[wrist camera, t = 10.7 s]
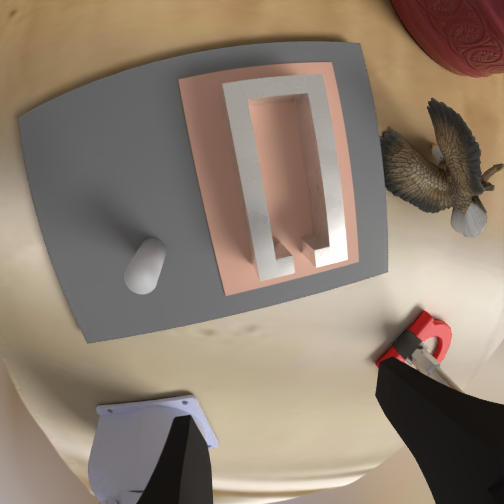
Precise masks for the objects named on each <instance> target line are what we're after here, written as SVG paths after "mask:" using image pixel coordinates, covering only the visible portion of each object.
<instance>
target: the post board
mask: <svg viewBox="0 0 504 504" xmlns="http://www.w3.org/2000/svg"><path fill="white" fill-rule="evenodd" d="M307 74H323V79H324V83H325V88H326V93H327V98H328V103H329V109H330V114H331V120H332V125H333V131H334V138H335V144H336V151H337V158H338V165H339V172H340V180H341V189H342V198H343V207H344V218H345V229H346V242H347V257H348V260H344V261H340V262H336V263H333V264H329V265H325V266H321V267H317V268H316V267H315V266H314V265H313V264H312V263H311V262H310V261H309V260H308V259H307V258H306V257H305V256H304V255H303V254H302V252H301V245H300V237H304V236H308V235H312V234H313V226H312V218H311V210H310V203H309V196H308V189H307V182H306V175H305V168H304V162H303V156H302V150H301V144H300V138H299V132H298V127H297V121H296V116H295V110H294V105H293V101H291V102H281V103H273V104H265V105H257V106H250V107H249V111H250V116H251V121H252V126H253V132H254V137H255V142H256V148H257V153H258V158H259V164H260V170H261V175H262V181H263V186H264V192H265V198H266V203H267V209H268V215H269V221H270V227H271V233H272V239H273V243H277V242H281V243H282V244H283V245H284V246H285V247H286V249H287V250H288V251H289V252H290V253H291V254H292V255H293V261H294V268H295V273H293V274H289V275H285V276H281V277H277V278H273V279H269V280H265V281H261V282H260V280H259V278H258V276H257V274H256V272H255V270H254V268H253V265H252V261H251V256H250V251H249V246H248V241H247V236H246V231H245V226H244V220H243V215H242V210H241V205H240V200H239V195H238V190H237V184H236V179H235V174H234V169H233V164H232V159H231V153H230V148H229V143H228V138H227V133H226V128H225V122H224V117H223V112H222V107H221V102H220V96H219V93H220V89H221V86H222V83H229V82H235V81H242V80H250V79H258V78H267V77H278V76H290V75H307ZM18 121H19V130H20V137H21V144H22V151H23V157H24V162H25V168H26V173H27V178H28V182H29V187H30V191H31V195H32V199H33V203H34V207H35V211H36V215H37V218H38V222H39V225H40V228H41V232H42V235H43V238H44V241H45V244H46V247H47V250H48V253H49V256H50V259H51V262H52V264H53V267H54V270H55V272H56V275H57V278H58V280H59V283H60V285H61V288H62V290H63V292H64V295H65V297H66V299H67V302H68V304H69V306H70V309H71V311H72V313H73V315H74V317H75V319H76V321H77V324H78V326H79V328H80V330H81V332H82V334H83V336H84V338H85V340H86V342H87V344H88V343H94V342H101V341H107V340H113V339H118V338H124V337H130V336H135V335H141V334H146V333H151V332H156V331H162V330H167V329H172V328H176V327H181V326H186V325H191V324H195V323H200V322H205V321H209V320H214V319H218V318H222V317H227V316H231V315H235V314H239V313H244V312H248V311H252V310H256V309H260V308H264V307H268V306H272V305H276V304H280V303H283V302H287V301H291V300H295V299H298V298H302V297H306V296H309V295H313V294H317V293H320V292H324V291H327V290H331V289H334V288H338V287H341V286H344V285H348V284H351V283H354V282H358V281H361V280H364V279H368V278H371V277H374V276H377V275H380V274H384V273H387V272H388V228H387V208H386V193H385V181H384V171H383V162H382V153H381V146H380V138H379V131H378V125H377V119H376V113H375V107H374V102H373V97H372V92H371V87H370V82H369V77H368V73H367V69H366V64H365V60H364V56H363V52H362V49H361V45H360V43H350V42H328V41H297V42H274V43H261V44H250V45H241V46H233V47H226V48H219V49H213V50H207V51H201V52H196V53H191V54H186V55H181V56H177V57H172V58H168V59H164V60H160V61H156V62H152V63H149V64H145V65H142V66H138V67H135V68H131V69H128V70H125V71H122V72H119V73H116V74H113V75H110V76H107V77H104V78H102V79H99V80H96V81H94V82H91V83H89V84H86V85H84V86H81V87H79V88H76V89H74V90H72V91H69V92H67V93H65V94H62V95H60V96H58V97H56V98H54V99H52V100H50V101H48V102H46V103H44V104H42V105H40V106H38V107H36V108H34V109H32V110H30V111H28V112H26V113H24V114H23V115H21V116H19V117H18Z"/></svg>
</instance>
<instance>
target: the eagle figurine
mask: <svg viewBox="0 0 504 504" xmlns="http://www.w3.org/2000/svg"><path fill="white" fill-rule="evenodd" d="M428 104H429V106H430V107H429V106H427V109H428V112H429V114H430V117H431V120H432V123H433V126H434V129H435V135H436V140H437V143H438V145H434V144H432V145H431V146H432V150H431V151H432V154H433V156H434V158H435V160H436V161H437V163H438V166H436V165H434V164H433V163H431V162H429V161H428V160H427V159H425V158H424V157H423V156H422V155H421V154H419V153H418V152H417V151H415V150H414V149H413V148H412V147H411V146H410V145H409V144H408V143H407V142H406V141H405V140H404V139H403V138H402V137H401V135H399V134H398V133H397V132H396V131H394V130H393V131H391V133H384V135H383V138H382V137H379V138H380V146H381V153H382V162H383V171H384V181H385V186H386V187H387V189H388V190H389V191H391V192H392V193H393V195H395V196H399V197H400V198H401V199H403V200H404V201H409V202H410V203H411V204H413V205H414V206H416V207H419V209H420V210H422V211H425V212H431V213H435V212H439V211H440V210H445V208H448V209H449V208H450V207H452V206H453V210H452V216H451V226H452V228H453V229H454V230H455V231H457V232H459V233H461V234H463V235H464V236H466V237H476V236H478V235H480V234H481V233H482V231H483V230H484V228H485V226H486V224H487V215H486V213H487V211H486V210H485V208H484V206H483V204H482V203H481V201H480V199H479V197H478V195H481V194H482V193H483V192H484V191H493V190H494V187H495V186H494V185H492V184H490V183H489V182H487V180H488V179H489V178H490V177H491V176H492V175H493V174H495V173H496V172H498V171H500V170H501V169H502V168H503V167H504V164H497V165H494V166H493V167H491V168H490V169H488V170H487V171H486V172H485V173H484V174H483V175H481V174H482V172H481V169H480V163H481V161H480V156H481V150H480V149H479V144H478V142H475V137H474V136H473V135H472V132H471V130H470V129H469V128H468V126H467V125H466V123H465V122H464V121H463V119H462V117H461V116H460V114H457V113H456V112H455V111H454V110H453V109H452V108H450V107H447V106H446V105H445V104H444V103H443V102H440V103H439V102H438V101H436V100H435V99H434V98H431V101H428Z"/></svg>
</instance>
